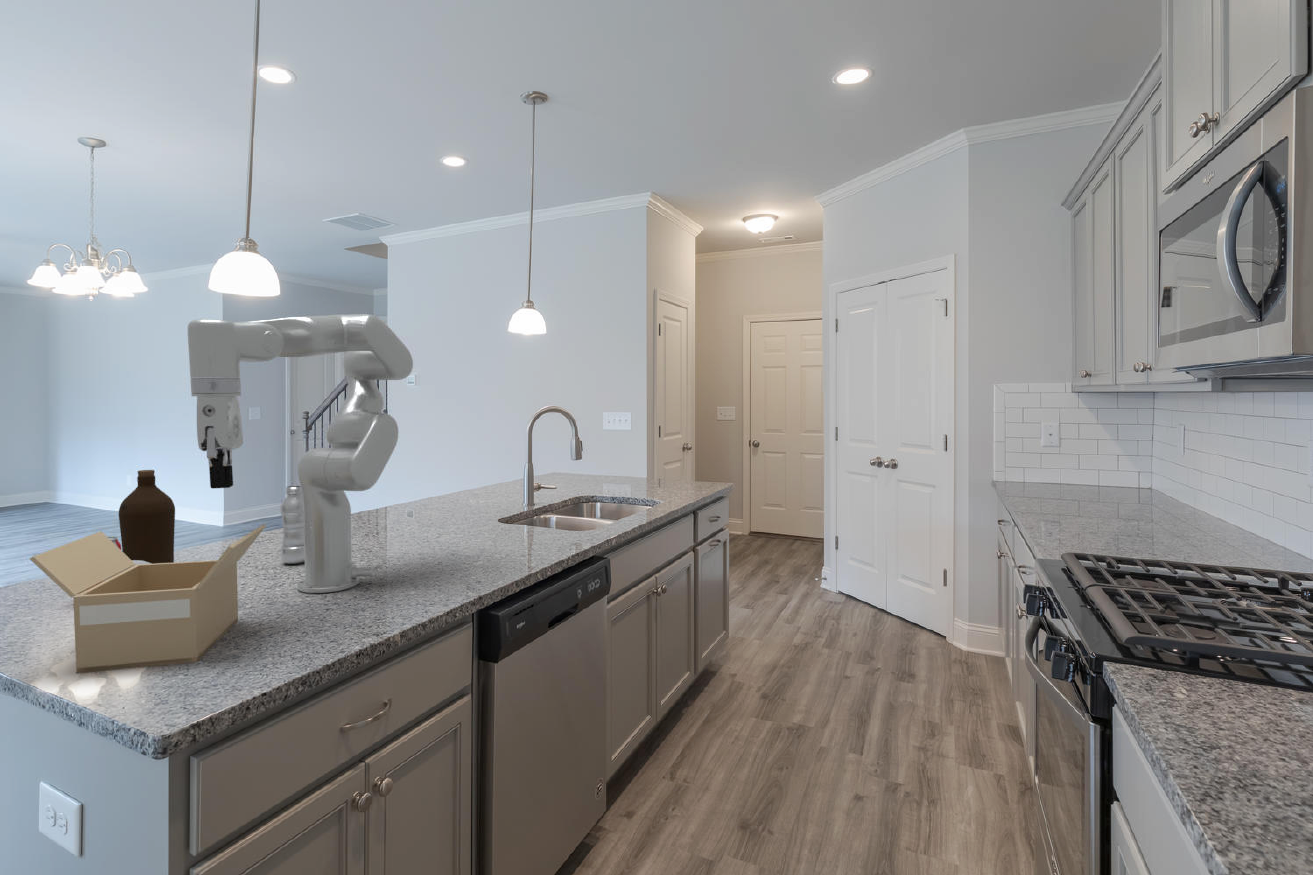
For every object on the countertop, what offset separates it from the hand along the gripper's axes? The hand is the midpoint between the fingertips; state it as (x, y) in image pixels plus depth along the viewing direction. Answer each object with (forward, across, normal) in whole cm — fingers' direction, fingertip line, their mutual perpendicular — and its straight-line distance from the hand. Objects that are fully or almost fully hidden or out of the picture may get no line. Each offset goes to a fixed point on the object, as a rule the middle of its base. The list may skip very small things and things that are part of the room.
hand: (221, 487), depth 119 cm
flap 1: (+10, -7, +17) cm, 22 cm away
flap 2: (+11, -8, -3) cm, 14 cm away
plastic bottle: (+28, +46, -3) cm, 54 cm away
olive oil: (+27, +46, +28) cm, 60 cm away
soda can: (+26, +24, +29) cm, 46 cm away
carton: (+26, -8, +7) cm, 28 cm away
